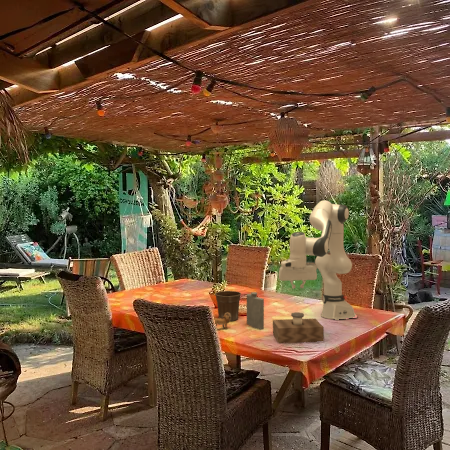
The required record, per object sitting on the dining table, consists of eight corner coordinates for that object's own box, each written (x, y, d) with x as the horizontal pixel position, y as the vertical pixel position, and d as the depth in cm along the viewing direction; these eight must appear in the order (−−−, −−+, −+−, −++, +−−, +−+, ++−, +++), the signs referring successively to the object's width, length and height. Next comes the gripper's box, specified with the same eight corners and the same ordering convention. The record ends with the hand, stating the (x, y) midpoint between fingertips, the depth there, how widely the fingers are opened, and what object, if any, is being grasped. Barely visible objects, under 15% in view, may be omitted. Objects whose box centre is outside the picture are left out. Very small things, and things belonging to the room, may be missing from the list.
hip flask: (264, 329, 267) (264, 294, 266) (258, 330, 265) (258, 295, 264) (250, 322, 281) (250, 289, 280) (244, 323, 279) (244, 290, 278)
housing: (315, 332, 260) (315, 318, 259) (323, 341, 244) (323, 326, 243) (272, 334, 258) (272, 319, 257) (278, 343, 242) (278, 328, 241)
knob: (302, 324, 254) (302, 312, 254) (305, 328, 247) (305, 315, 247) (289, 324, 254) (290, 312, 253) (292, 328, 247) (292, 315, 246)
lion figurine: (228, 326, 274) (228, 311, 273) (233, 328, 269) (233, 313, 268) (206, 330, 266) (206, 314, 265) (211, 332, 261) (211, 316, 261)
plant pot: (211, 317, 294) (211, 291, 292) (235, 314, 300) (234, 289, 298) (220, 323, 278) (220, 297, 277) (245, 320, 284) (245, 294, 283)
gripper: (315, 261, 252) (315, 286, 253) (278, 262, 250) (278, 287, 251) (318, 263, 246) (318, 289, 247) (280, 264, 244) (280, 290, 245)
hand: (297, 288), depth 249 cm, fingers open, 3 cm apart
